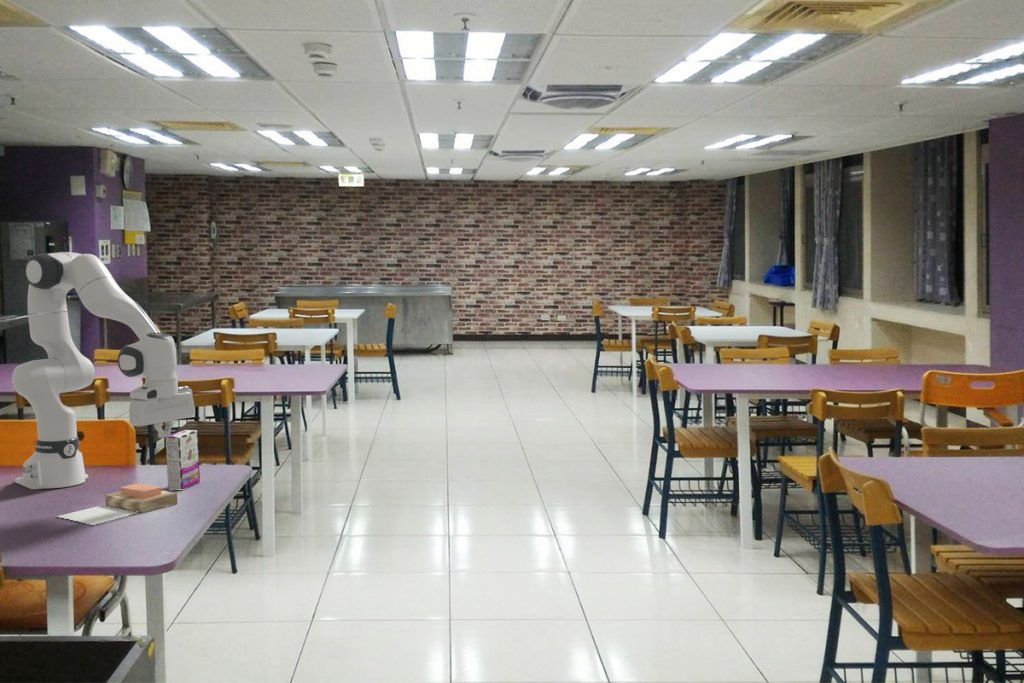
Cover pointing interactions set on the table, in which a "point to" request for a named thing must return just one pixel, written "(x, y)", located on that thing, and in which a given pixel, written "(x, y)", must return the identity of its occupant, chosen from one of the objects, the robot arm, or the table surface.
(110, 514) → the mat
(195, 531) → the table surface
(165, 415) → the robot arm
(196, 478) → the candy bar box
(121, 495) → the plate
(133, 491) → the salmon pink rectangular block
